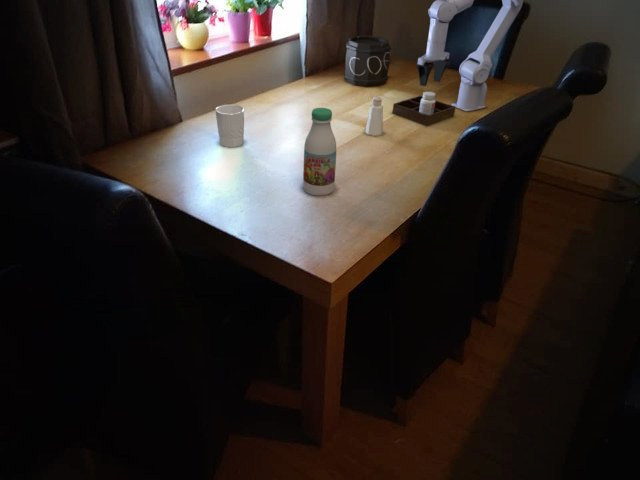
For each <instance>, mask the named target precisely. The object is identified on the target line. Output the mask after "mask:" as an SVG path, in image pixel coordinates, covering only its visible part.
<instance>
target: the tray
mask: <svg viewBox="0 0 640 480" xmlns="http://www.w3.org/2000/svg"><path fill="white" fill-rule="evenodd" d="M422 98H423V95H417V96H413V97H411V98H408V99H405V100H401V101H398V102H394V103H393V104H392V114H393V115H396V116H399V117H401V118H404V119H407V120H409V121H412V122H414V123H417V124H420V125H423V126H425V127H429V126H432V125H434V124H437V123H439V122H442V121H446V120H449V119H451V118H454V116H455V112H456V107H455V106H452V105H451V104H448V103H445V102H441V101H438V100H437V99H435V108H434V113H433V114H431V115H426V114H423V113H420V112H419V109H420V102H421V99H422Z"/></svg>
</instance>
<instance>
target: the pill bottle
mask: <svg viewBox="0 0 640 480" xmlns="http://www.w3.org/2000/svg"><path fill="white" fill-rule="evenodd" d="M436 95H437V94H436V93H435V92H434V91H423V92H422V96H423V98H422V99H421V102H420V109H419V112H420V113H423V114H426V115H431V114H433V113H434V108H435V100H436Z"/></svg>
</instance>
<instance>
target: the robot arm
mask: <svg viewBox="0 0 640 480" xmlns="http://www.w3.org/2000/svg"><path fill="white" fill-rule="evenodd" d="M474 1H475V0H434V1H433V2H432V4H431V5H430V8H428V10H427V11H428V16H429V18H430V20H429V23H430V24H429V29H428V36H427V43H426V50H425V53H424V54H423V55H422V56H420V57H418V59H417V62H416V63H415V67H416V69H417V72H418V78H419V85H420V86H423V87H426V86H427V85H428V82H429V77H430V74H431V71H432V70H433V82H437V83H441V80H442V78H443V75H444V73H445V71H446V70H447V68H448V66H449V65H450V64H451V61H450V60H449V58H450V54H451V53H450V52H447V51H445V49H446V41H447V36H448V30H449V24H450V22H451V20H453V18H454V16H456V15H457V14H459V13H461V12H463V11H464V10H467V9H469V8H471V7H472V6H473V3H474ZM501 2H502V6H501V8H500V10H499V12H498V13H497V15H496V17H495V18H494V20H493V22H492V24H491V25H490V27H489V29H488V30H487V32H486V33H485V35H484V36H483V39H482V41H481V42H480V44H479V45H478V47H477V49H476V50H475V51H473V52H471V53H469V54H468V55H467V57H466V59H464V60H463V61H462V62H461V63H460V65H459V68H458V73H459V75H460V84H459V90H458V95H457V101H456V102H452V103H451V104H450V105H451V106H454V107H455V108H457V109H460V110H462V111H464V112H472V111H475V110H476V111H477V110H481V109H485V108H486V106H485V101H486V97H487V93H488V86H487V83H486V81H487V80H488V79H489V76H490V72H491V69H492V67H493V63H492V57H493V55H494V53H495V52H496V51H497V49H498V47H499V45H500V44H501V42H502V40H503V39H504V37H505V35H506V34H507V32H508V30H510V28H511V25H512V24H513V23H514V20H515V19H516V18H517V16H518V14H519V12H520V11H521V9H522V7H523V3H524V0H501ZM430 63H433V65H430Z"/></svg>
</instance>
